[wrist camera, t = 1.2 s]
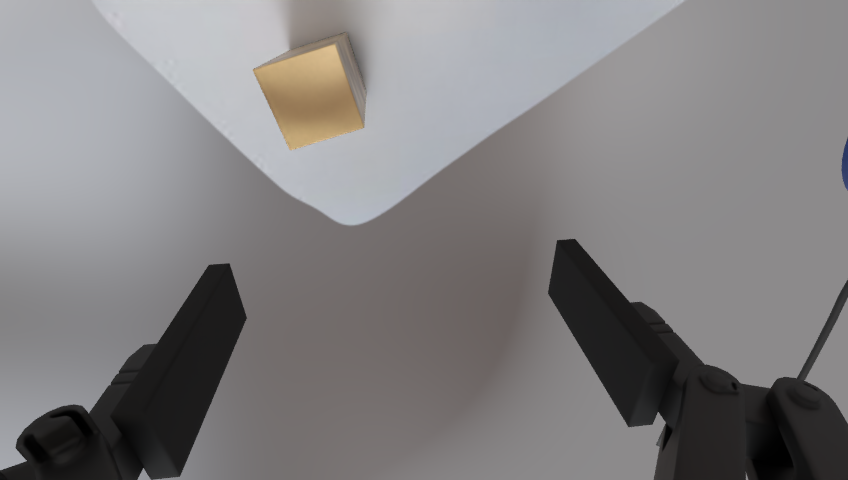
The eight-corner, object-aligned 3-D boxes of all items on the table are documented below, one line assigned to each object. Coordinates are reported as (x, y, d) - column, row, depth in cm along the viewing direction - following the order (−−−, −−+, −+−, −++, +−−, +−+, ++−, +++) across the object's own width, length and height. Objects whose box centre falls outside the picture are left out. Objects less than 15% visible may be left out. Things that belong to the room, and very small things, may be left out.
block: (366, 93, 35) (364, 127, 25) (313, 109, 36) (289, 151, 25) (346, 32, 33) (334, 43, 23) (289, 50, 33) (252, 69, 23)
